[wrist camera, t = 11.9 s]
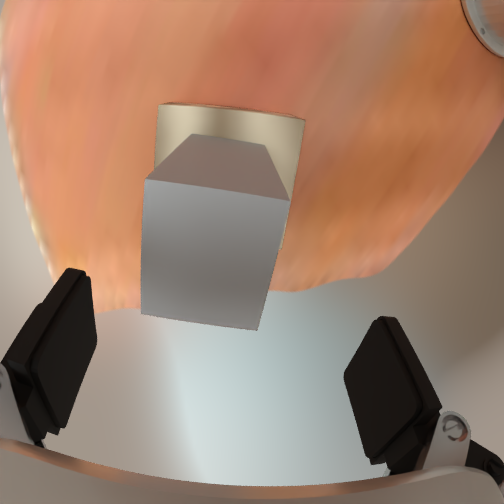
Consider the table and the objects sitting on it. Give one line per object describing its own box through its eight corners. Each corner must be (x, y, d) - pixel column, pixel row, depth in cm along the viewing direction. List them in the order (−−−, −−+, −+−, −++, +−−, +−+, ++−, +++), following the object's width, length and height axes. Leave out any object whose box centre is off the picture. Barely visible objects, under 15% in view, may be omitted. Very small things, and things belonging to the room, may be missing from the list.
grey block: (264, 144, 25) (291, 201, 13) (248, 222, 29) (257, 330, 16) (191, 133, 25) (145, 179, 12) (181, 212, 28) (141, 313, 16)
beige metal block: (292, 114, 30) (305, 120, 25) (273, 223, 36) (281, 249, 30) (171, 102, 29) (158, 104, 23) (164, 213, 34) (152, 237, 29)
